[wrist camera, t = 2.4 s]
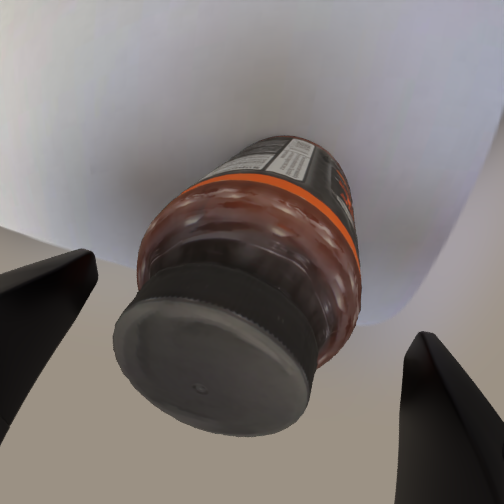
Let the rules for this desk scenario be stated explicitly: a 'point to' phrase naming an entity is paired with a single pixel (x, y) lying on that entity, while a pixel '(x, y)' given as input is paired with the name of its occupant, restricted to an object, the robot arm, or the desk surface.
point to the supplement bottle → (244, 291)
